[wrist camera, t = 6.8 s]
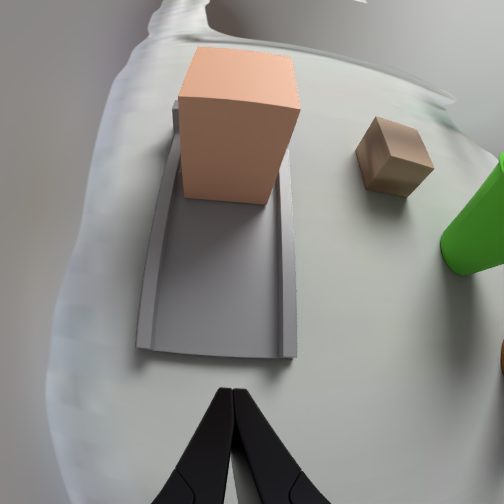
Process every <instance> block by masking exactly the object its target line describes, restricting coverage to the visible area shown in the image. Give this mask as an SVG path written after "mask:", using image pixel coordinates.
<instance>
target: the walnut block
mask: <svg viewBox="0 0 504 504" xmlns="http://www.w3.org/2000/svg"><path fill="white" fill-rule="evenodd" d="M355 151H356V154H357V158H358V161H359V165H360V169H361V173H362V177H363V181H364V185H365V189H366V190H372V191H377V192H382V193H387V194H392V195H397V196H401V197H406V198H407V197H408V196H409V195H410V194H411V193H412V192H413V191H414V190H415V189H416V188H417V187H418V186H419V185H420V184H421V182H422V181H423V180H424V179H425V178H426V177H427V176H428V175H429V174H430V173H431V172H432V171H433V170H434V166H433V164H432V162H431V159H430V157H429V155H428V152H427V150H426V148H425V146H424V144H423V141H422V139H421V137H420V135H419V133H418V131H417V130H415V129H413V128H410V127H407V126H404V125H401V124H398V123H395V122H392V121H389V120H386V119H383V118H380V117H375V118H374V120H373V122H372V123H371V125H370V127H369V128H368V130H367V132H366V134H365V135H364V137H363V139H362V140H361V142H360V143H359V145H358V147H357V148H356V150H355Z"/></svg>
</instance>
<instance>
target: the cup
mask: <svg viewBox="0 0 504 504" xmlns="http://www.w3.org/2000/svg"><path fill="white" fill-rule="evenodd" d="M441 250H442V254H443V257H444V259H445V261H446V263H447V265H448V266H449V267H450V269H451V270H452V271H454V272H455V273H457V274H458V275H470V274H473V273H476V272H479V271H483V270H486V269H489V268H492V267H495V266H498V265H501V264H504V153H500V155H499V163H498V164H497V166H496V167H495V168H494V170H493V171H492V173H491V174H490V175H489V177H488V178H487V179H486V181H485V182H484V183H483V185H482V186H481V187H480V189H479V190H478V191H477V192H476V194H475V195H474V196H473V198H472V199H471V200H470V201H469V203H468V204H467V205H466V206H465V207H464V209H463V210H462V211H461V212H460V213H459V215H458V216H457V217H456V218H455V219H454V220H453V222H452V223H451V224H450V225H449V226H448V227H447V228H446V230H445V231H444V233H443V235H442V238H441Z"/></svg>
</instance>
